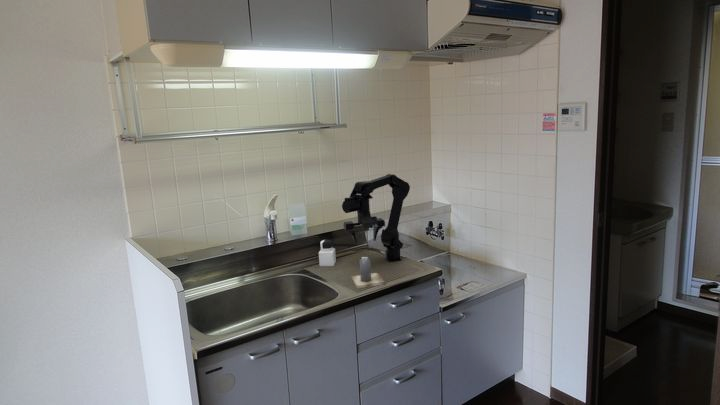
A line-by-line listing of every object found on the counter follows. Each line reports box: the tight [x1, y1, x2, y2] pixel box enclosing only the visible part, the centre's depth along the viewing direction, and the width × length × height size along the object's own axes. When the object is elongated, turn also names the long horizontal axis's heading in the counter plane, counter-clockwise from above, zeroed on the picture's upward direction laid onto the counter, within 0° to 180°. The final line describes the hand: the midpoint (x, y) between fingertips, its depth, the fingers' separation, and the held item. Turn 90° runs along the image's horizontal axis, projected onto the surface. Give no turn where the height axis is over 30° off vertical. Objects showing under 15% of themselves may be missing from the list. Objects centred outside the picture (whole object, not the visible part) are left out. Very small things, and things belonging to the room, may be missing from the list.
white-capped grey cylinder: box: [359, 256, 372, 282], centre depth 201 cm, size 5×5×10 cm
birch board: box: [350, 272, 386, 289], centre depth 203 cm, size 12×12×1 cm
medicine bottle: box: [318, 239, 337, 267], centre depth 229 cm, size 7×7×12 cm
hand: (365, 242), depth 218 cm, fingers open, 9 cm apart
